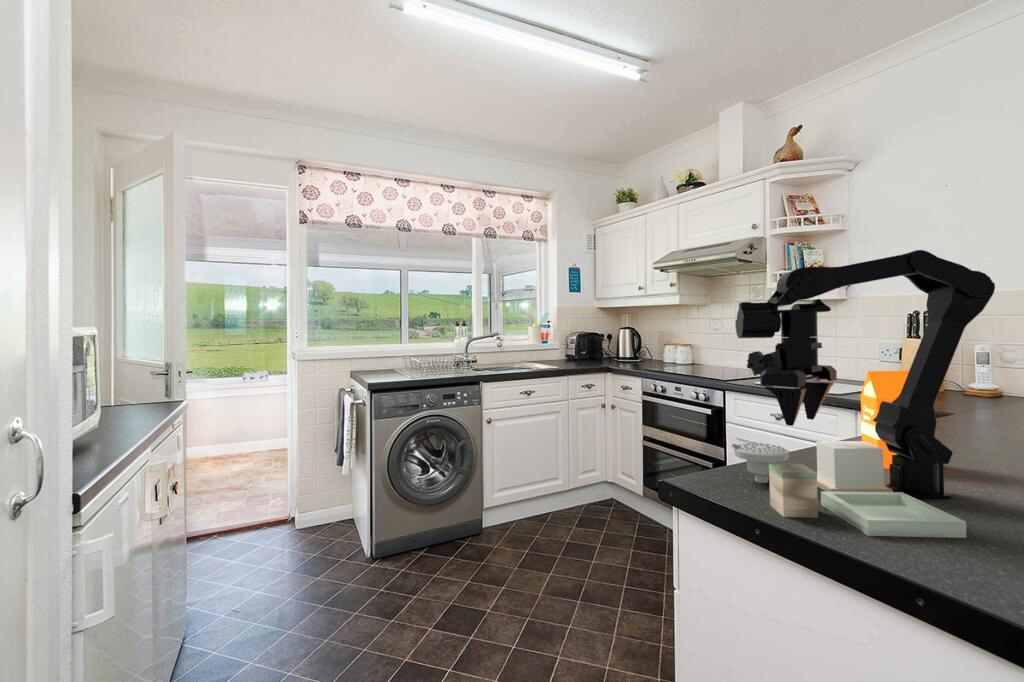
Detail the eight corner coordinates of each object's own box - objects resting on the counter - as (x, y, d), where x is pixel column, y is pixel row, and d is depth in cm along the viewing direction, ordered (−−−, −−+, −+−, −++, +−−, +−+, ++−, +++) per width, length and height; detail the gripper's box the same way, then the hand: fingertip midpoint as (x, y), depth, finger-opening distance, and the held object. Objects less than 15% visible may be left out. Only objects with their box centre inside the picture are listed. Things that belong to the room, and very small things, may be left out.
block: (802, 506, 78) (801, 464, 78) (818, 517, 73) (816, 472, 73) (769, 505, 78) (768, 463, 78) (783, 517, 73) (782, 472, 73)
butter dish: (860, 479, 91) (859, 438, 91) (892, 495, 82) (891, 449, 82) (805, 479, 92) (804, 438, 92) (830, 494, 83) (829, 449, 83)
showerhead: (725, 438, 97) (778, 439, 95) (726, 473, 97) (779, 475, 95) (737, 449, 88) (796, 450, 86) (738, 487, 88) (797, 489, 86)
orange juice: (929, 470, 95) (926, 372, 95) (877, 468, 98) (875, 372, 98) (908, 460, 103) (906, 369, 103) (861, 458, 105) (859, 369, 105)
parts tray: (902, 505, 77) (902, 492, 77) (966, 537, 64) (966, 521, 64) (821, 504, 78) (820, 491, 78) (868, 535, 66) (867, 520, 66)
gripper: (775, 337, 99) (776, 411, 99) (730, 338, 87) (732, 422, 87) (837, 336, 90) (838, 418, 90) (796, 338, 78) (797, 431, 78)
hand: (800, 422), depth 87 cm, fingers open, 9 cm apart
